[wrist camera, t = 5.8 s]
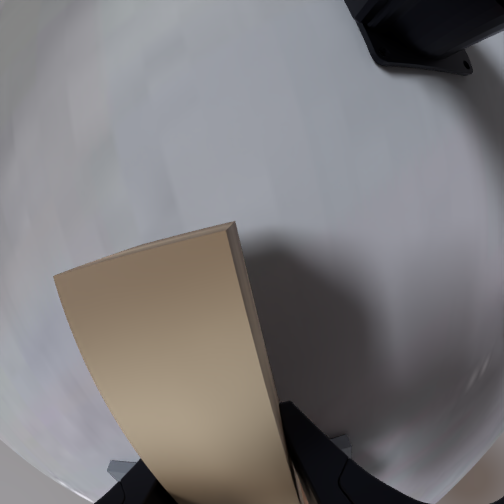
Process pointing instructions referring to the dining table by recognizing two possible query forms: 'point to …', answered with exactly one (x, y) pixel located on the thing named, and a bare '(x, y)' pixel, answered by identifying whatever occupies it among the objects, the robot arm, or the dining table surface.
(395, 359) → the dining table surface
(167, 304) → the curved wooden plank
